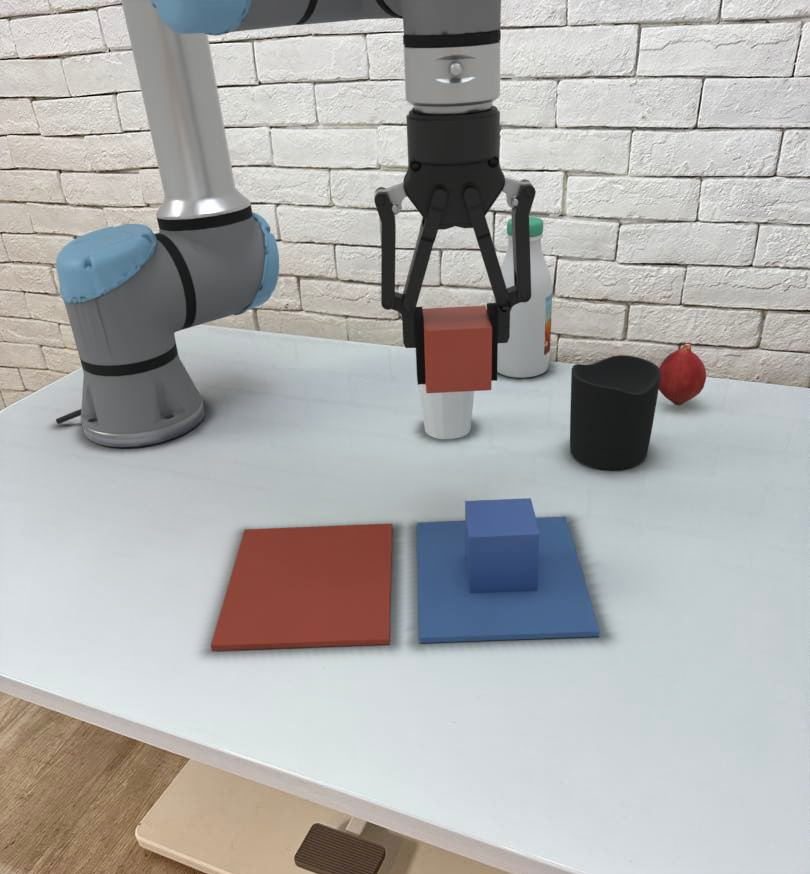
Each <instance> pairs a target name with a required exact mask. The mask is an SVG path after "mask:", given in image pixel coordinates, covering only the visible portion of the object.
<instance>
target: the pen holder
mask: <svg viewBox="0 0 810 874" xmlns="http://www.w3.org/2000/svg"><path fill="white" fill-rule="evenodd" d="M659 367H660V366H658V365H657V364H656V363H654V362H652V361H650V360H648V359H645V358H642V357H638V356H634V355H626V354H619V355H612V356H609V357H606V358H604V359H601V360H599V361H597V362H593V363H588V364H584V363H583V364H582V363H576V364H574V365H572V367H571V375H570V408H569V409H570V411H569V412H570V413H569V414H570V415H569V450H570V454H571V455H572V456H573V458H574V459H575V460H576V461H578V462H579V463H581V464H582V465H584V466H587V467H590V468H594V469H598V470H605V471H606V470H607V471H619V470H626V469H631V468H634V467H635V466H638V465H639V464H641V463H642V462H643V461H644V460H645V459H646V457H647V456H648V454H649V453H648V452H649V448H650V442H651V436H652V432H653V426H654V420H655V413H656V408H657V401H658V395H659V384H660V378H661V370H660V369H659Z"/></svg>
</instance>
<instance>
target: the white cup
mask: <svg viewBox="0 0 810 874" xmlns="http://www.w3.org/2000/svg"><path fill="white" fill-rule="evenodd" d="M418 389H419V396H420V403H421V404H420V405H421V409H422V411H421V412H422V418H423V426H424V432H425V433H426V434H427V435H428V436H429V437H431V438H434V439H438V440H439V439H440V440H454V439H460V438H463V437H464V436H466V435H468V434H469V433H470V431H471V429H472V420H473V419H472V418H473V408H474V397H475V396H474V395H475V391H464V392H444V393H426V384H418Z"/></svg>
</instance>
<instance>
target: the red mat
mask: <svg viewBox="0 0 810 874" xmlns="http://www.w3.org/2000/svg"><path fill="white" fill-rule="evenodd" d="M392 554H393V523H391V522H390V523H369V524H345V525H322V526H321V525H320V526H319V525H318V526H295V527H269V528H248V529H247V528H246V529H243V534H242V537H241V542H240V544H239V547H238V550H237V555H236V559H235V561H234V565H233V568H232V572H231V575H230V578H229V582H228V585H227V588H226V592H225V596H224V598H223V603H222V606H221V609H220V612H219V615H218V619H217V622H216V627H215V630H214V633H213V637H212V640H211V644H210V648H211V651H238V650H239V651H240V650H241V651H242V650H266V649H292V648H293V649H294V648H321V647H322V648H323V647H347V646H377V645H379V646H380V645H390V637H391V636H390V635H391V634H390V631H391V595H392V594H391V592H392V562H393V561H392V560H393V559H392V557H393V556H392Z"/></svg>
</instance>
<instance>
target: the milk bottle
mask: <svg viewBox="0 0 810 874" xmlns="http://www.w3.org/2000/svg"><path fill="white" fill-rule="evenodd" d="M529 231H530V265H531V299H530V300H529V301H528V302H525V303H524V302H521V303H518V304H516V305H514V306H513V307H512V309H511V311H510V338H509V340H508V342H507V343H498V357H497V374H501V375H502V376H506V377H510V378H521V379H522V378H532V377H536V376H540V375H542V374H544V373H545V372H546V371H547V370H548V369H549V366H550V358H551V338H552V335H551V333H552V314H553V313H552V312H553V282H552V275H551V272H550V269H549V266H548V265H547V262H546V259H545V257H544V253H543V248H542V239H543V238H544V236H543V232H544V220H543V219H542V218H539V217H536V216H529ZM506 234H507V235H506V239H507V240H508V243H507V244H508V245H507V249H506V253H505V256H504V258H503V261H502V263H501V265H500V268H501V271H502V275H503V278H504V281H505V285H506V288H509V287H512V286H514V266H513V241H512V218H509V219H508V220H507V223H506ZM493 299H494V300H493V303H495V297H493Z"/></svg>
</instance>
